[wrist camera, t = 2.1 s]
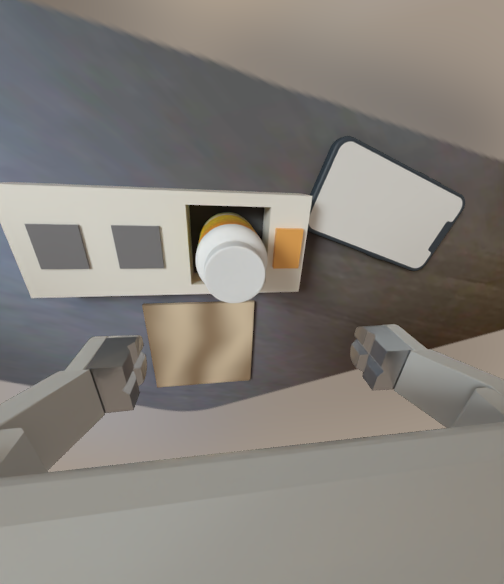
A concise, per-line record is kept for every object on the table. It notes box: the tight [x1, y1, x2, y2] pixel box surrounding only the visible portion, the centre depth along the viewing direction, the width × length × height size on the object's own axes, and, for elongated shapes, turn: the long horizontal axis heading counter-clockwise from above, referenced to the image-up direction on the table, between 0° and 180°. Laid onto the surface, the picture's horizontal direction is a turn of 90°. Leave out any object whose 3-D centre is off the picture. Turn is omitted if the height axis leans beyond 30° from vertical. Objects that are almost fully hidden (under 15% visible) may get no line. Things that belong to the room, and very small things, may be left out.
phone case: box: [307, 136, 465, 271], centre depth 24 cm, size 9×2×16 cm
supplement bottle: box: [196, 212, 267, 303], centre depth 19 cm, size 5×5×10 cm
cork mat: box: [142, 301, 254, 387], centre depth 29 cm, size 12×12×1 cm
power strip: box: [0, 182, 312, 298], centre depth 21 cm, size 24×9×4 cm, turn 88°
